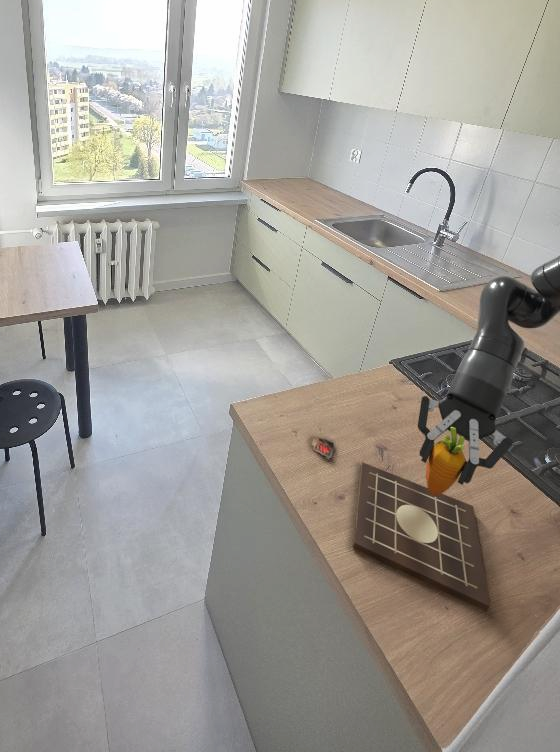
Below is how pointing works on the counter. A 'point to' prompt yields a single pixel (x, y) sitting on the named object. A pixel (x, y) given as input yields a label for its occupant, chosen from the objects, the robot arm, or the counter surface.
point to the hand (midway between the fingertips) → (441, 471)
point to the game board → (420, 534)
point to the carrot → (445, 463)
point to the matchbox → (323, 446)
